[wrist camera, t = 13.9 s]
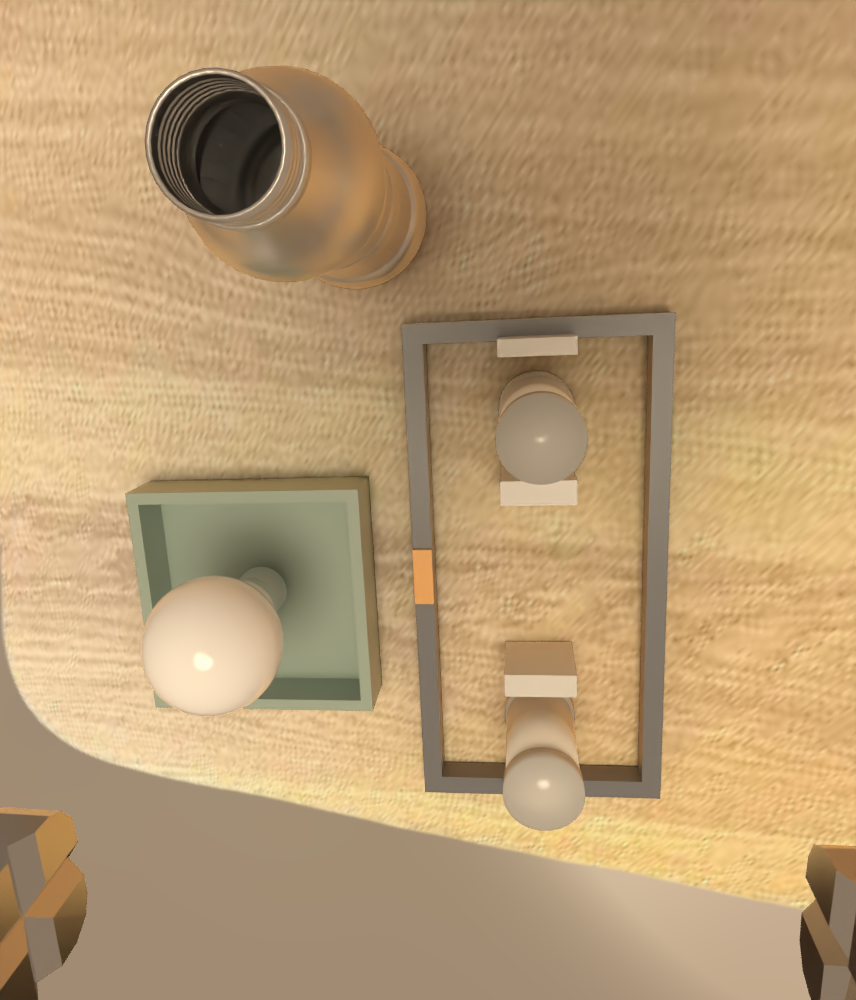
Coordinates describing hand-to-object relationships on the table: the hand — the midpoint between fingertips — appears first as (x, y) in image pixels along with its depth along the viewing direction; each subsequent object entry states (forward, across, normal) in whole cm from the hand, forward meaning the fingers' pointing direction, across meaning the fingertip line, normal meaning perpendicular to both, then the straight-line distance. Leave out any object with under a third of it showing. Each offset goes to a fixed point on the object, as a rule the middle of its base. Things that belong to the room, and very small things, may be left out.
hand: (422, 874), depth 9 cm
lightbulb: (+32, +13, +10) cm, 36 cm away
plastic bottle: (+33, +6, -9) cm, 35 cm away
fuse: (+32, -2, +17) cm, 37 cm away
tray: (+33, +13, +10) cm, 36 cm away
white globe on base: (+33, -2, 0) cm, 33 cm away
